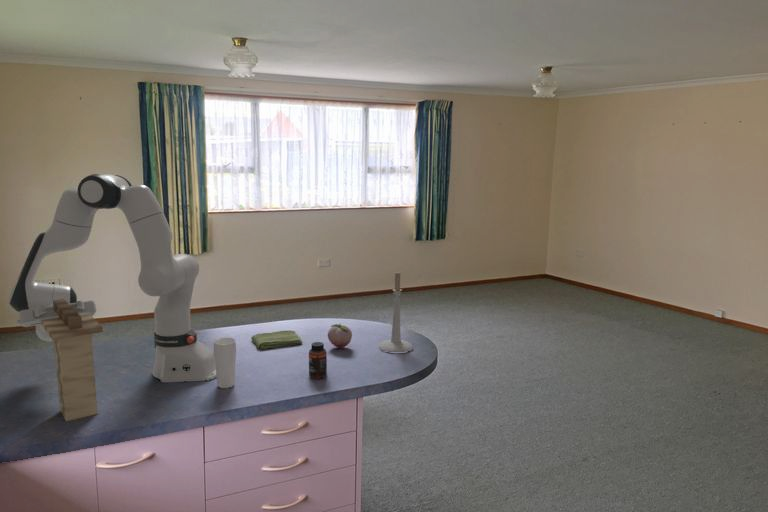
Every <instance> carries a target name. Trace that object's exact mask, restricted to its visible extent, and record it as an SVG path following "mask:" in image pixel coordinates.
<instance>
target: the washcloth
mask: <svg viewBox="0 0 768 512" xmlns="http://www.w3.org/2000/svg"><path fill="white" fill-rule="evenodd" d="M251 340H252V341H253V343H254V344H255V345H256V347H257V349H258V350H260V349H263V350H269V349H268V348H272V349H277V348H276V347H279V348H283V346H284V347H290V345H291V346H298V345H301V344H303V340H302V339H301V338H300V336H299V334H298V333H296V331H295V330H278V331H272V332H263V333H262V332H261V333H256V334H254V335H252V336H251ZM297 344H298V345H297Z"/></svg>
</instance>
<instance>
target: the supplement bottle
mask: <svg viewBox="0 0 768 512" xmlns="http://www.w3.org/2000/svg"><path fill="white" fill-rule="evenodd" d="M327 360H328V359H327V350H326V348H325V347H324V342H321V341H314V342H312V343H311V349H309V351H308V376H309V377H310V378H312V379H315V378H317V380H318V378H320V379H324V378H325V377H327V375H328V374H327V373H328V371H327V369H328V365H327V362H328V361H327ZM323 377H324V378H323Z"/></svg>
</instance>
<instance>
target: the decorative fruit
mask: <svg viewBox="0 0 768 512" xmlns="http://www.w3.org/2000/svg"><path fill="white" fill-rule="evenodd" d="M327 338H328V340H329V342H330V343H331V344H332V345H333V346H334V347H336V348H338V349H342V348H344V347H347V346H348V345H349V344H350V343H351V340H352V338H353V333H352V330H351V328H350V327H348V326H346V325H343V324H339V323H336V324H332V325H331V326H330V329H329V330H328V332H327Z"/></svg>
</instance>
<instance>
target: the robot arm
mask: <svg viewBox="0 0 768 512" xmlns="http://www.w3.org/2000/svg"><path fill="white" fill-rule="evenodd" d="M116 208H117V209H119V210H121V212H123V214H124V217H125V218H126V221H127V223H128V225H129V227H130V229H131V232H132V235H133V238H134V240H135V242H136V245H137V247H138V252H139V259H140V271H139V275H138V278H137V280H138V287H139V288H140V290H141V291H142V292H143V293H144V294H145V295H147V296H149V297H158V301H157V302H156V305H155V307H154V310H153V315H154V330H155V331H154V332H153V345H154V348H155V356H154V364H153V368H152V373H151V374H152V376H153V377H154V378H156V379H159V380H160V382H161V383H181V382H184V381H187V382H205V380H207V381H211V380H213V379H215V378H217V377H216V376H217V375H216V367H215V360H214V350H212V349H211V348H210V347H208V346H206V345H205V344H204V343H202V342H200V341H199V340H198V339H197V336H198V335H199V331H198V330H197V331H194V330H193V329H192V328H191V302H192V298H193V297H192V296H193V291H194V287H195V286H194V285H195V281H196V279H197V277H198V275H199V272H200V265H199V263H198V260H197V259H196V258H195V257H194V256H193V255H191V254H188V253H176V254H173V252H172V251H173V250H172V240H173V232H172V230H171V227H170V225H169V222H168V220H167V218H166V216H165V213H164V211H163V208H162V207H161V205H160V203H159V201H158V198H157V197H156V196H155V194H154V192H153V191H152V189H151V188H150V187H149V186H147V185H145V184H133V185H132V183H131V182H130V180H128V179H127V178H125V177H123V176H121V175H117V174H110V173H93V174H90V175H86V176H85V177H84V178H82V179H81V180H80V181H79V184H78V185H77V187H70V188H67V189H65V190H64V191H63V193H62V194H61V197H59V201H58V203H57V206H56V208H55V212H54V217H53V220H52V221H53V222H52V223H51V226H50V227H49V228H48V229H47V230H46V231H45V232H41V233H39V234H38V235H37V237H36V238H35V239H34V242H33V244H32V246H31V248H30V251H29V253H28V255H27V257H26V259H25V262H24V264H23V266H22V269H21V271H20V273H19V276H18V278H17V280H16V282H15V283H14V285H13V286H12V288H11V290H10V292H9V296H8V300H9V301H8V302H9V303H8V304H9V305H10V306H11V308H13V309H14V310H15V311H16V312H18V316H19V318H18V319H17V320H16V324H17V325H18V326H19V325H20V326H21V327H23V328H28V327H35V333H36V335H37V337H38V338H39V339H40V340H42V341H44V342H48V343H49V342H50V343H51V342H54V341H53V340H52V339H51V337H50V336H49V334H48V333H47V332H46V330H45V329H44V327H43V326H42V323H41V320H42V319H49V318H55V317H59V316H58V315H57V314H56V312H55V311H54V308H53V300H60V299H65V300H66V301H67V302H68V303H69V304H70V306H71V307H72V308H73V309H74V310H75V311H76V312H77V313H78V314H82V313H89V314H90V315H91V316H92V317H93V318H94V315H95V314H96V312H97V308H96V303H95V301H94V300H87V301H83V300H78V301H77V299H78V297H77V293H76V292H75V290H74V288H72V287H71V286H70V285H62V284H56V283H47V282H46V283H45V282H40V281H35V280H34V278H35V277H36V274H37V273H38V272H37V271H38V270H39V268H40V265H41V264H42V263H41V262H42V261H43V260H44V259H45V257H47V256H49V255H52V254H55V253H60V252H66V251H67V252H68V251H71V250H75V249H79V248H81V247H82V246H84V245H85V244H86V243H87V242H88V240H89V238H90V235H91V232H92V227H93V223H94V218H95V215H96V213H97V212H98V211H99V210H101V209H105V210H111V209H116ZM210 379H211V380H210Z"/></svg>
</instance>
